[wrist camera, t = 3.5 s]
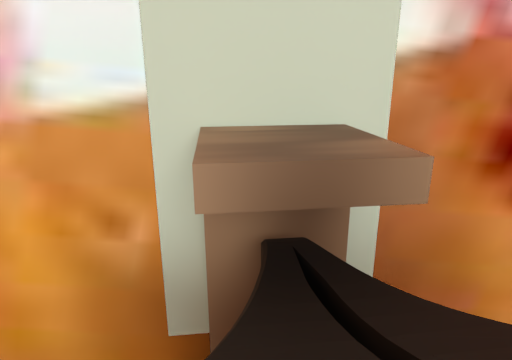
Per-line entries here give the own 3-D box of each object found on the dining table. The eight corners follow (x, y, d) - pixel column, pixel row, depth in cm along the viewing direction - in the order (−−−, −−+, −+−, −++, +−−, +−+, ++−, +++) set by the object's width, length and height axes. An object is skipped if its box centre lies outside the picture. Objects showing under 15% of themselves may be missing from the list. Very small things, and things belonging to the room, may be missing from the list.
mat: (399, -5, 11) (402, -6, 11) (365, 316, 15) (368, 319, 14) (139, -11, 10) (137, -13, 10) (169, 332, 14) (168, 336, 13)
